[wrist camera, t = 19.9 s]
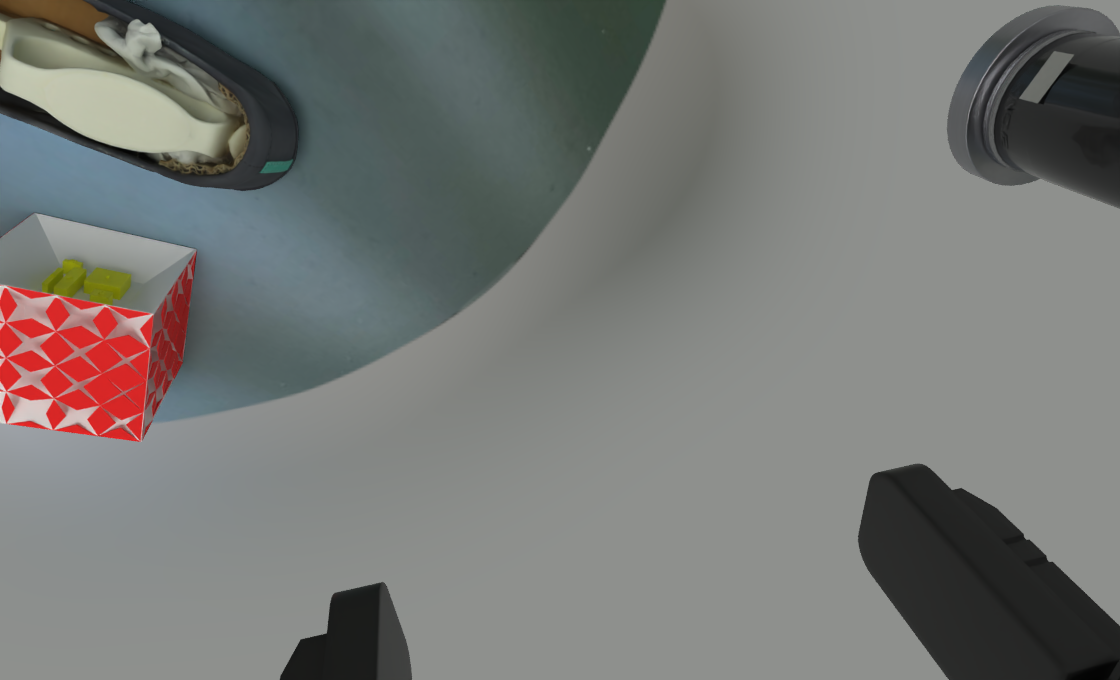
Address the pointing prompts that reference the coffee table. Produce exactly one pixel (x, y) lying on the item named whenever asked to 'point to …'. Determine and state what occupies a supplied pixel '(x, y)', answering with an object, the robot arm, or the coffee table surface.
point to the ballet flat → (143, 92)
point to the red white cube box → (89, 326)
